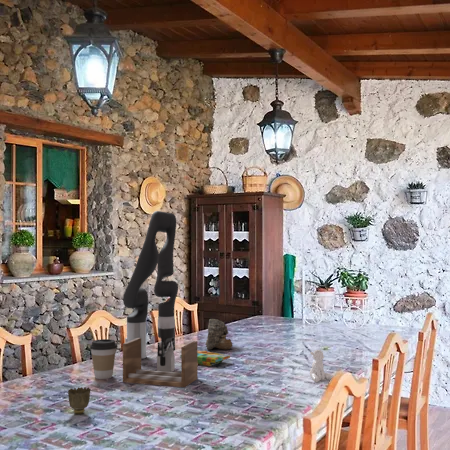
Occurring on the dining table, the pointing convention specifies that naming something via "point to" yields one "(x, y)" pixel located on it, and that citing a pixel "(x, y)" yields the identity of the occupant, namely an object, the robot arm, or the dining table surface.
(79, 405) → the cup
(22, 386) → the dining table surface
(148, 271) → the robot arm
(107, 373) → the coffee cup
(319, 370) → the seated beast figurine
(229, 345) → the rock
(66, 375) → the dining table surface
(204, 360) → the puzzle game
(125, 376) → the wooden rack
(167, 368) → the white food carton
